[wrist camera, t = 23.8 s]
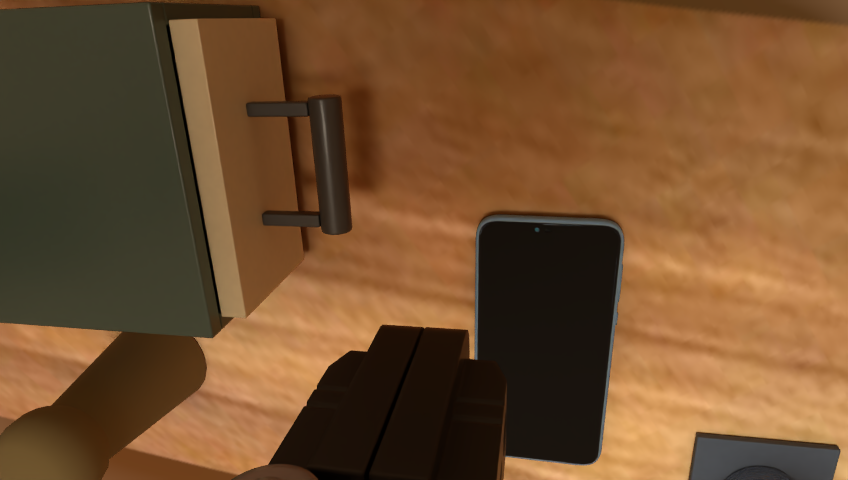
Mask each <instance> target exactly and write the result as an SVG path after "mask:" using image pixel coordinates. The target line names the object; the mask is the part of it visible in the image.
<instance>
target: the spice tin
mask: <svg viewBox="0 0 848 480" xmlns="http://www.w3.org/2000/svg"><path fill="white" fill-rule="evenodd" d="M725 480H793V479H792V478H791V477H789V476H788V475H787V474H785V473H784V472H782V471H780V470H777V469H775V468H771V467H765V466H753V467H747V468H743V469H740V470H738V471H736V472H734V473H732V474H731V475H730V476H728V477H727V478H726V479H725Z"/></svg>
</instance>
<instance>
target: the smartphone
mask: <svg viewBox="0 0 848 480" xmlns="http://www.w3.org/2000/svg"><path fill="white" fill-rule="evenodd" d="M623 251H624V236H623V233H622V230H621V228H620V226H619V225H618V224H617V223H615V222H613V221H610V220H607V219H598V218H573V217H548V216H522V215H492V216H488V217H486V218H484V219H483V220H482V221H481V222H480V224H479V226H478V229H477V233H476V273H475V360H487V361H496V362H497V364H498V366H499V367H500V369H501V371H502V373H503V374H504V376H505V378H506V380H507V398H506V455H505V457H512V458H521V459H529V460H538V461H547V462H555V463H564V464H572V465H590V464H593V463H595V462H596V461H597V460H598V458H599V457H600V454H601V449H602V440H603V431H604V422H605V413H606V404H607V395H608V386H609V377H610V368H611V359H612V350H613V341H614V332H615V325H617V317H618V312H617V305H618V302H619V297H620V288H621V279H622V270H623V265H622V260H623Z"/></svg>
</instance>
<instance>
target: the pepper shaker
mask: <svg viewBox="0 0 848 480" xmlns="http://www.w3.org/2000/svg"><path fill="white" fill-rule="evenodd" d="M205 374H206V363H205V358H204V354H203V352H202V351H201V349H200V347H199V345H198V343H197V342H196V341H195V339H194V338H193V337H190V336H176V335H163V334H149V333H136V332H122V333H121V334H120V335H119V336H118V337H117V338H116V339H115V340H114V341H113V342H112V343H111V344H110V345H109V346H108V347H107V348H106V349H105V350H104V351H103V353H102V354H101V355H100V356H99V357H98V358H97V359H96V360H95V361H94V362H93V363H92V364H91V365H90V366H89V367H88V368H87V369H86V370H85V371H84V372H83V373H82V374H81V375H80V376H79V377H78V378H77V379H76V380H75V382H74V383H73V384H72V385H71V386H70V387H69V388H68V389H67V390H66V391H65V392H64V393H63V394H62V395H61V396H60V397H59V398H58V399H57V400H56V401H55V402H54V403H53V404H52V405H51V406H46V407H42V408H37V409H35V410H32V411H30V412H28V413H26V414H24V415H22V416H21V417H20V418H18V419H17V420H16V421H14V422H13V423H12V424H11V425H9V426H8V427H7V428H6V429H5V430H4V432H3V433H2V434H1V435H0V480H101V479H102V477H103V475H104V474H105V472H106V470H107V468H108V464H109V459H110V458H111V457H113V456H114V455H115V454H116V453H118V452H119V451H120V450H122V449H123V448H124V447H125V446H127V445H128V444H129V443H130V442H132V441H133V440H134V439H136V438H137V437H138V436H139V435H141V434H142V433H143V432H144V431H146V430H147V429H148V428H150V427H151V426H152V425H153V424H155V423H156V422H157V421H158V420H160V419H161V418H162V417H164V416H165V415H166V414H167V413H169V412H170V411H171V410H172V409H174V408H175V407H176V406H178V405H179V404H180V403H181V402H183V401H184V400H185V399H186V398H188V397H189V396H190V395H192V394H193V393H194V392H195V391H197V390H198V389H199V388H200V386H201V385H202V383H203V381H204V380H205Z"/></svg>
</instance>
